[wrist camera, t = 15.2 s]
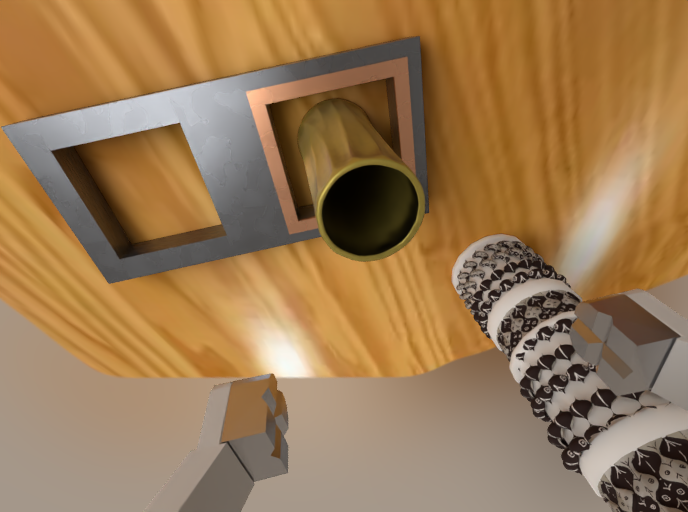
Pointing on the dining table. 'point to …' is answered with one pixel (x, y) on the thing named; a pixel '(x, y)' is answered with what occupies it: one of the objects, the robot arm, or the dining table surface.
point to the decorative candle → (574, 381)
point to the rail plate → (218, 155)
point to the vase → (358, 183)
